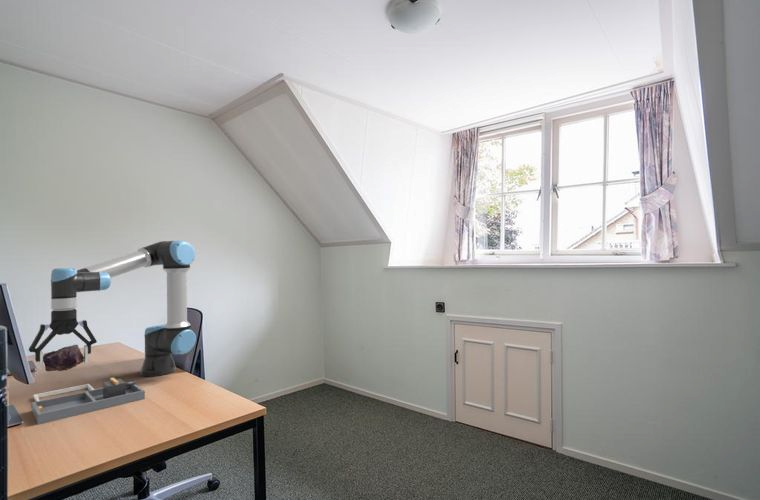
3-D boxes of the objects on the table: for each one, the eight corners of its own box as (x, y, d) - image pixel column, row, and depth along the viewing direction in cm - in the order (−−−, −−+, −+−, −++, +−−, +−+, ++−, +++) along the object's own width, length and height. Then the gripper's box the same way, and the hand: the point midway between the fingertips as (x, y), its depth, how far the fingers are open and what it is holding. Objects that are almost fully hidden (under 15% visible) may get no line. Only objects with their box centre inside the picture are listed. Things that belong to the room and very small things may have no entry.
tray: (88, 387, 178) (88, 383, 178) (97, 396, 166) (97, 392, 166) (33, 398, 165) (33, 394, 165) (39, 408, 153) (39, 404, 153)
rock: (47, 372, 152) (45, 378, 144) (42, 350, 151) (40, 355, 143) (85, 362, 159) (85, 367, 151) (80, 341, 158) (80, 345, 150)
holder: (132, 389, 174) (132, 371, 175) (144, 398, 163) (144, 379, 163) (31, 411, 151) (31, 390, 151) (37, 424, 139) (37, 401, 139)
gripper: (100, 305, 163) (101, 358, 163) (18, 311, 145) (19, 371, 145) (105, 306, 158) (105, 361, 157) (21, 313, 140) (21, 375, 140)
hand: (64, 366), depth 151 cm, fingers closed on rock, 13 cm apart
